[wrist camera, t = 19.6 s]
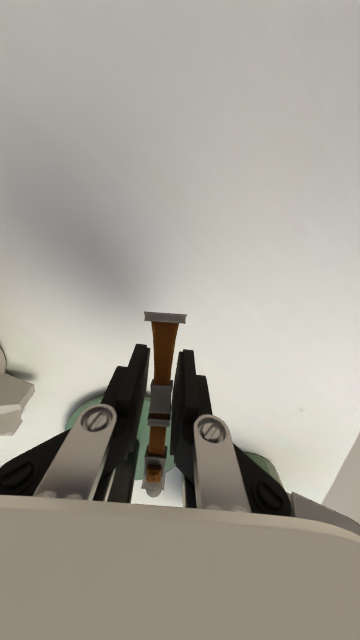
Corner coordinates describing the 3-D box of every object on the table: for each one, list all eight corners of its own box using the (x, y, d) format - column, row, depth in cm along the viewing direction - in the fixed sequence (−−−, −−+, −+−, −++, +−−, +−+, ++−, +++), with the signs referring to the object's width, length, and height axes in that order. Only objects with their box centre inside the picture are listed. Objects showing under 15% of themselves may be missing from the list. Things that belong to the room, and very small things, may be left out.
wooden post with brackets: (144, 443, 13) (128, 512, 8) (153, 314, 13) (142, 311, 8) (173, 445, 13) (173, 513, 8) (182, 316, 13) (187, 314, 8)
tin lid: (196, 395, 22) (206, 465, 15) (179, 473, 27) (180, 550, 21) (63, 383, 21) (13, 453, 14) (73, 467, 26) (39, 546, 20)
